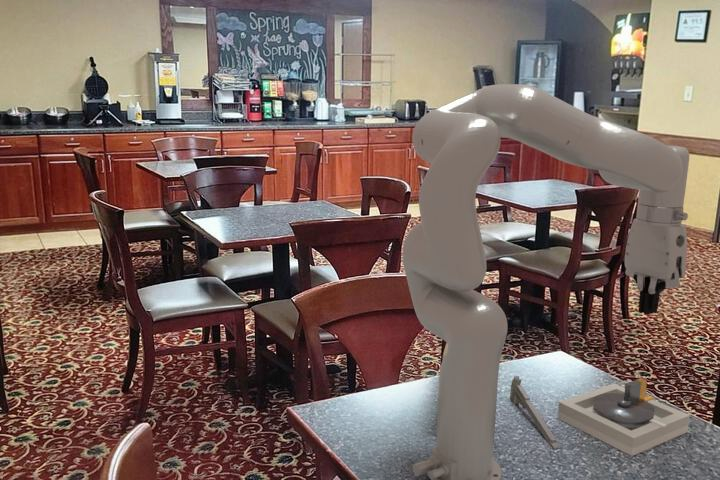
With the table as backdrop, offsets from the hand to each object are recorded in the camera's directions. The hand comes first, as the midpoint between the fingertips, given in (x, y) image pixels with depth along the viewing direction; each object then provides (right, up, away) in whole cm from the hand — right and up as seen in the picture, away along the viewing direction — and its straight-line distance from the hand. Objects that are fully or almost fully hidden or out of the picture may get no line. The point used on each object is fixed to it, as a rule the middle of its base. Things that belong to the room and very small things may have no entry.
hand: (647, 312), depth 128 cm
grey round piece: (-2, -21, +6) cm, 22 cm away
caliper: (-20, -23, +7) cm, 31 cm away
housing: (-2, -23, +7) cm, 24 cm away
